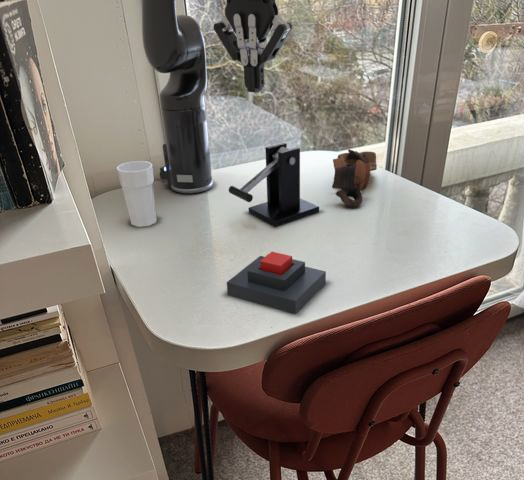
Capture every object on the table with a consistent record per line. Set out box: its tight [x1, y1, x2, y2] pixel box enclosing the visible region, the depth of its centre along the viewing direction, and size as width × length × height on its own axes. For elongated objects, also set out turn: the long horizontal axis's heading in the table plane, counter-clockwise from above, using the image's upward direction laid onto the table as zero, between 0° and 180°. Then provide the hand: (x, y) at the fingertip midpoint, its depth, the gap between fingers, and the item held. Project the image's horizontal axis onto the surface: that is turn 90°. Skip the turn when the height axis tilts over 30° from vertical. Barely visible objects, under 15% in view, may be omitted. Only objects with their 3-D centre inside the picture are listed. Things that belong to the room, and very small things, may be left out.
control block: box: [226, 254, 327, 314], centre depth 85 cm, size 12×10×4 cm
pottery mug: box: [331, 148, 371, 209], centre depth 112 cm, size 12×10×8 cm
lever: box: [228, 147, 289, 203], centre depth 103 cm, size 13×6×2 cm, turn 128°
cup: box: [116, 160, 157, 228], centre depth 107 cm, size 7×7×11 cm
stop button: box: [260, 251, 293, 275], centre depth 84 cm, size 4×4×2 cm
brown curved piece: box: [337, 151, 378, 172], centre depth 121 cm, size 15×3×8 cm
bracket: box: [248, 142, 320, 228], centre depth 107 cm, size 11×9×13 cm
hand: (254, 91), depth 87 cm, fingers closed
